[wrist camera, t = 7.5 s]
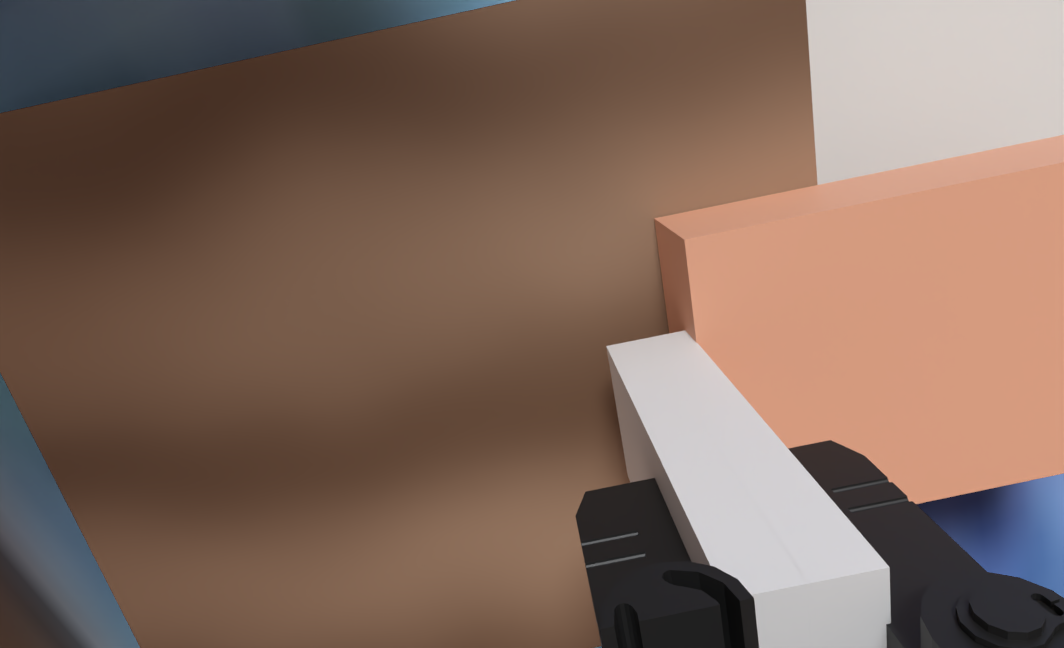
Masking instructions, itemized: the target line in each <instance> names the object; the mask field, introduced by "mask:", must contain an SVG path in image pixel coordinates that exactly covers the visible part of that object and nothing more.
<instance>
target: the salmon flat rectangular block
mask: <svg viewBox="0 0 1064 648" xmlns="http://www.w3.org/2000/svg"><path fill="white" fill-rule="evenodd" d="M654 221H655V229H656V237H657V244H658V252H659V259H660V267H661V275H662V282H663V290H664V298H665V305H666V313H667V320H668V328H669V333H674V332H679V331H684V330H685V331H686V332H687V333H688V334H689V335H690V336H691V337H692V339H693V340H694V341H695V342H696V343H698V344H699V345H700V346H701V347H702V349H703V350H704V351H705V352H706V353H707V354H708V356H709V357H710V358H711V359H712V360H713V361H714V363H715V364H716V365H717V366H718V367H719V369H720V370H721V371H722V372H723V373H724V374H725V376H726V377H727V378H728V379H729V380H730V381H731V383H732V384H733V385H734V386H735V387H736V388H737V390H738V391H739V392H740V393H741V394H742V395H743V397H744V398H745V399H746V400H747V401H748V402H749V404H750V405H751V406H752V407H753V408H754V409H755V411H756V412H757V413H758V414H759V415H760V416H761V418H762V419H763V420H764V421H765V422H766V423H767V425H768V426H769V427H770V428H771V429H772V430H773V432H774V433H775V434H776V435H777V436H778V437H779V439H780V440H781V441H782V442H783V443H784V444H785V446H786V447H787V448H793V447H798V446H803V445H808V444H813V443H818V442H823V441H828V440H832V441H834V442H836V443H838V444H840V445H843V446H845V447H847V448H849V449H851V450H853V451H856V452H858V453H860V454H862V455H864V456H865V457H867V458H868V459H869V460H870V461H871V462H872V463H873V464H874V465H875V466H876V467H877V468H878V469H879V470H880V471H881V472H882V473H883V474H884V475H886V476H887V477H888V481H889V482H893V483H894V484H895V485H896V486H897V487H898V488H899V489H900V490H901V491H902V492H903V493H904V494H906V495H907V497H908V500H909V502H910V501H913V502H914V503H915V504H919V503H924V502H929V501H934V500H938V499H943V498H948V497H953V496H958V495H962V494H967V493H972V492H977V491H982V490H986V489H991V488H996V487H1001V486H1005V485H1010V484H1015V483H1020V482H1025V481H1029V480H1034V479H1039V478H1044V477H1049V476H1053V475H1058V474H1063V473H1064V135H1060V136H1055V137H1050V138H1045V139H1041V140H1036V141H1031V142H1026V143H1021V144H1016V145H1011V146H1006V147H1001V148H996V149H992V150H987V151H982V152H977V153H972V154H967V155H962V156H957V157H952V158H947V159H943V160H938V161H933V162H928V163H923V164H918V165H913V166H908V167H903V168H898V169H894V170H889V171H884V172H879V173H874V174H869V175H864V176H859V177H854V178H849V179H845V180H840V181H835V182H830V183H825V184H820V185H815V186H810V187H805V188H800V189H796V190H791V191H786V192H781V193H776V194H771V195H766V196H761V197H756V198H751V199H747V200H742V201H737V202H732V203H727V204H722V205H717V206H712V207H707V208H702V209H698V210H693V211H688V212H683V213H678V214H673V215H668V216H663V217H658V218H654Z"/></svg>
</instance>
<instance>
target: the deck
mask: <svg viewBox="0 0 1064 648" xmlns="http://www.w3.org/2000/svg"><path fill="white" fill-rule="evenodd" d="M815 185H818V184H817V168H816V153H815V137H814V121H813V106H812V90H811V74H810V59H809V43H808V27H807V12H806V0H516V1H511V2H507V3H502V4H497V5H493V6H488V7H484V8H479V9H474V10H470V11H465V12H461V13H456V14H452V15H447V16H442V17H438V18H433V19H429V20H424V21H420V22H415V23H410V24H406V25H401V26H397V27H392V28H388V29H383V30H378V31H374V32H369V33H365V34H360V35H355V36H351V37H346V38H342V39H337V40H333V41H328V42H323V43H319V44H314V45H310V46H305V47H301V48H296V49H291V50H287V51H282V52H278V53H273V54H269V55H264V56H259V57H255V58H250V59H246V60H241V61H237V62H232V63H227V64H223V65H218V66H214V67H209V68H204V69H200V70H195V71H191V72H186V73H182V74H177V75H172V76H168V77H163V78H159V79H154V80H150V81H145V82H140V83H136V84H131V85H127V86H122V87H118V88H113V89H108V90H104V91H99V92H95V93H90V94H85V95H81V96H76V97H72V98H67V99H63V100H58V101H53V102H49V103H44V104H40V105H35V106H31V107H26V108H21V109H17V110H12V111H8V112H3V113H0V373H1V375H2V377H3V379H4V381H5V383H6V385H7V387H8V389H9V391H10V393H11V395H12V396H13V398H14V400H15V402H16V404H17V406H18V408H19V410H20V412H21V414H22V416H23V418H24V420H25V422H26V424H27V426H28V428H29V430H30V432H31V434H32V436H33V438H34V440H35V442H36V444H37V446H38V448H39V450H40V452H41V453H42V455H43V457H44V459H45V461H46V463H47V465H48V467H49V469H50V471H51V473H52V475H53V477H54V479H55V481H56V483H57V485H58V487H59V489H60V491H61V493H62V495H63V497H64V499H65V501H66V503H67V505H68V507H69V508H70V510H71V512H72V514H73V516H74V518H75V520H76V522H77V524H78V526H79V528H80V530H81V532H82V534H83V536H84V538H85V540H86V542H87V544H88V546H89V548H90V550H91V552H92V554H93V556H94V558H95V560H96V562H97V564H98V565H99V567H100V569H101V571H102V573H103V575H104V577H105V579H106V581H107V583H108V585H109V587H110V589H111V591H112V593H113V595H114V597H115V599H116V601H117V603H118V605H119V607H120V609H121V611H122V613H123V615H124V617H125V619H126V620H127V622H128V624H129V626H130V628H131V630H132V632H133V634H134V636H135V638H136V640H137V642H138V644H139V646H140V648H594V647H599V646H601V641H600V636H599V631H598V626H597V621H596V616H595V612H594V607H593V602H592V597H591V592H590V587H589V582H588V577H587V572H586V567H585V562H584V557H583V552H582V547H581V542H580V537H579V532H578V527H577V522H576V517H575V516H576V513H577V511H578V508H579V506H580V504H581V501H582V499H583V496H584V494H585V492H586V491H591V490H596V489H601V488H606V487H611V486H616V485H621V484H626V483H630V480H629V477H628V474H627V468H626V462H625V456H624V450H623V444H622V438H621V432H620V426H619V420H618V414H617V408H616V402H615V396H614V390H613V384H612V378H611V372H610V366H609V360H608V354H607V348H606V346H610V345H615V344H620V343H625V342H630V341H635V340H639V339H644V338H650V337H655V336H660V335H664V334H669V328H668V320H667V313H666V305H665V298H664V290H663V282H662V275H661V267H660V259H659V252H658V244H657V237H656V229H655V221H654V218H658V217H663V216H668V215H673V214H678V213H683V212H688V211H693V210H698V209H702V208H707V207H712V206H717V205H722V204H727V203H732V202H737V201H742V200H747V199H751V198H756V197H761V196H766V195H771V194H776V193H781V192H786V191H791V190H796V189H800V188H805V187H810V186H815Z"/></svg>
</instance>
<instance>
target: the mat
mask: <svg viewBox="0 0 1064 648" xmlns="http://www.w3.org/2000/svg"><path fill="white" fill-rule="evenodd" d="M806 12H807V27H808V43H809V59H810V74H811V90H812V106H813V121H814V137H815V153H816V168H817V184H818V185H820V184H825V183H830V182H835V181H840V180H845V179H849V178H854V177H859V176H864V175H869V174H874V173H879V172H884V171H889V170H894V169H898V168H903V167H908V166H913V165H918V164H923V163H928V162H933V161H938V160H943V159H947V158H952V157H957V156H962V155H967V154H972V153H977V152H982V151H987V150H992V149H996V148H1001V147H1006V146H1011V145H1016V144H1021V143H1026V142H1031V141H1036V140H1041V139H1045V138H1050V137H1055V136H1060V135H1064V0H806Z"/></svg>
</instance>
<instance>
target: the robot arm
mask: <svg viewBox="0 0 1064 648" xmlns="http://www.w3.org/2000/svg"><path fill="white" fill-rule="evenodd" d="M606 348H607V354H608V360H609V366H610V372H611V378H612V384H613V390H614V396H615V402H616V408H617V414H618V420H619V426H620V432H621V438H622V444H623V450H624V456H625V462H626V468H627V474H628V477H629V480H630V483H626V484H621V485H616V486H611V487H606V488H601V489H596V490H591V491H586V492H585V494H584V496H583V499H582V501H581V504H580V506H579V508H578V511H577V513H576V516H575V517H576V522H577V527H578V532H579V537H580V542H581V547H582V552H583V557H584V562H585V567H586V572H587V577H588V582H589V587H590V592H591V597H592V602H593V607H594V612H595V616H596V621H597V626H598V631H599V636H600V641H601V646H602V648H1064V598H1063V597H1061V596H1060V595H1058V594H1057V593H1055V592H1054V591H1052V590H1050V589H1047V588H1045V587H1042V586H1039V585H1037V584H1034V583H1032V582H1029V581H1027V580H1024V579H1021V578H1018V577H1013V576H1007V575H1001V574H995V573H989V572H987V571H986V570H985V569H983V568H982V567H981V566H980V565H979V564H978V563H977V562H976V561H975V560H974V559H973V558H972V557H971V556H970V555H969V554H968V553H967V552H966V551H965V550H963V549H962V548H961V547H960V546H959V545H958V544H957V543H956V542H955V541H954V540H953V539H952V538H951V537H950V536H949V535H948V534H947V533H946V532H944V531H943V530H942V529H941V528H940V527H939V526H938V525H937V524H936V523H935V522H934V521H933V520H932V519H931V518H930V517H929V516H928V515H927V514H926V513H924V512H923V511H922V510H921V509H920V508H919V507H918V506H917V505H916V504H915V503H914V502H913V501H910V502H909V500H908V497H907V495H906V494H904V493H903V492H902V491H901V490H900V489H899V488H898V487H897V486H896V485H895V484H894V483H893V482H889V481H888V477H887V476H886V475H884V474H883V473H882V472H881V471H880V470H879V469H878V468H877V467H876V466H875V465H874V464H873V463H872V462H871V461H870V460H869V459H868V458H867V457H865V456H864V455H862V454H860V453H858V452H856V451H853V450H851V449H849V448H847V447H845V446H843V445H840V444H838V443H836V442H834V441H832V440H828V441H823V442H818V443H813V444H808V445H803V446H798V447H793V448H787V447H786V446H785V444H784V443H783V442H782V441H781V440H780V439H779V437H778V436H777V435H776V434H775V433H774V432H773V430H772V429H771V428H770V427H769V426H768V425H767V423H766V422H765V421H764V420H763V419H762V418H761V416H760V415H759V414H758V413H757V412H756V411H755V409H754V408H753V407H752V406H751V405H750V404H749V402H748V401H747V400H746V399H745V398H744V397H743V395H742V394H741V393H740V392H739V391H738V390H737V388H736V387H735V386H734V385H733V384H732V383H731V381H730V380H729V379H728V378H727V377H726V376H725V374H724V373H723V372H722V371H721V370H720V369H719V367H718V366H717V365H716V364H715V363H714V361H713V360H712V359H711V358H710V357H709V356H708V354H707V353H706V352H705V351H704V350H703V349H702V347H701V346H700V345H699V344H698V343H696V342H695V341H694V340H693V339H692V337H691V336H690V335H689V334H688V333H687V332H686V331H685V330H684V331H679V332H674V333H669V334H664V335H660V336H655V337H650V338H644V339H639V340H635V341H630V342H625V343H620V344H615V345H610V346H606Z"/></svg>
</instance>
